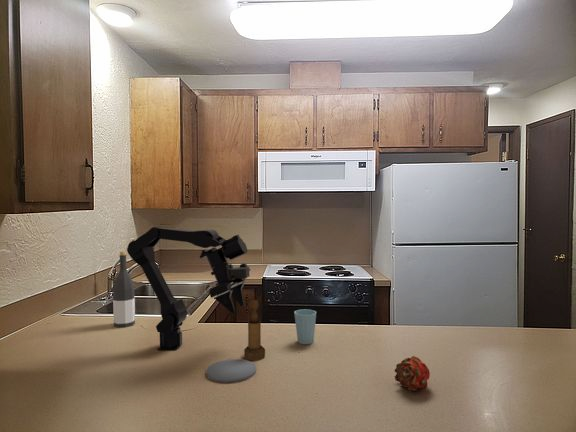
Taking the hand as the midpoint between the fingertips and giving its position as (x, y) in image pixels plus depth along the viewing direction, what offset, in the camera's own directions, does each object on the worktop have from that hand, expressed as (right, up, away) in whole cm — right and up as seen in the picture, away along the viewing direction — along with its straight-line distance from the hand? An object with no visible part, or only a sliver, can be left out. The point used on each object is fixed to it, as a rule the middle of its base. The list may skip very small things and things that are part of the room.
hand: (238, 309), depth 130 cm
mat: (0, -14, -16) cm, 22 cm away
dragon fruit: (+49, -14, -27) cm, 57 cm away
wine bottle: (-50, -14, +32) cm, 61 cm away
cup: (+22, -14, +9) cm, 28 cm away
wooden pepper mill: (+6, -14, -5) cm, 16 cm away
